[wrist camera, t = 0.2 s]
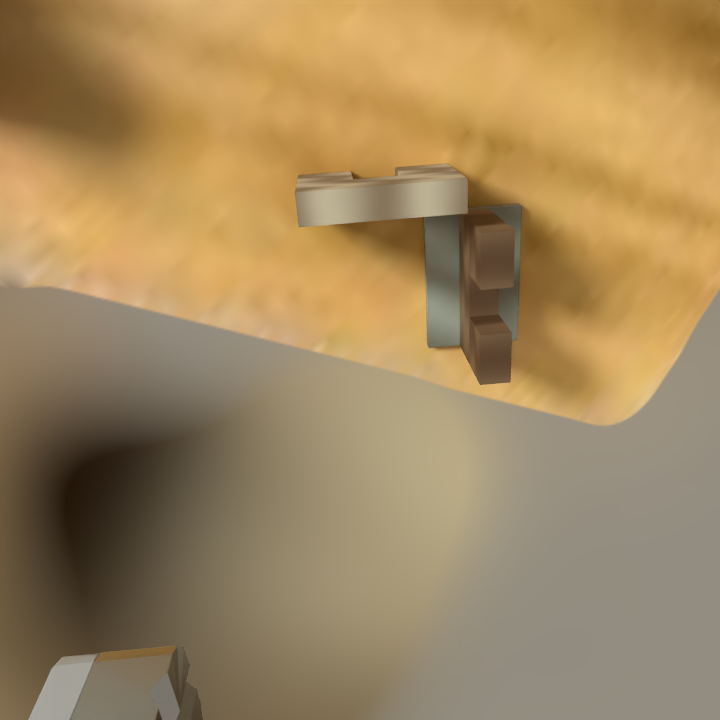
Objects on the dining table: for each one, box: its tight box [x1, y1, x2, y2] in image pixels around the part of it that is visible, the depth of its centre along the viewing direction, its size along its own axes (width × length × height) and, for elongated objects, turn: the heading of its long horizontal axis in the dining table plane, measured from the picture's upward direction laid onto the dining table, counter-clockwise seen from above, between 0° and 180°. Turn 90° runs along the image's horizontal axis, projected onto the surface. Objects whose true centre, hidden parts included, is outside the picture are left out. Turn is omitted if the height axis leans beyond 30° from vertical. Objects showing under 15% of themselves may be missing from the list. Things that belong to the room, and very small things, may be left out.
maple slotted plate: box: [295, 164, 468, 227], centre depth 48 cm, size 12×2×8 cm, turn 94°
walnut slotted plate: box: [424, 204, 522, 385], centre depth 52 cm, size 12×8×9 cm, turn 4°
